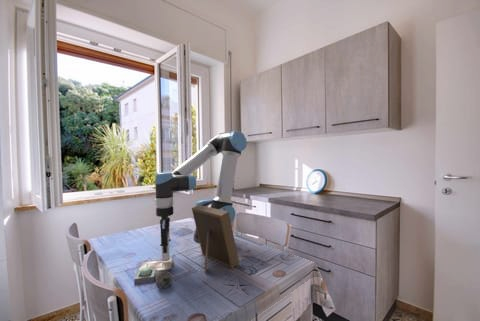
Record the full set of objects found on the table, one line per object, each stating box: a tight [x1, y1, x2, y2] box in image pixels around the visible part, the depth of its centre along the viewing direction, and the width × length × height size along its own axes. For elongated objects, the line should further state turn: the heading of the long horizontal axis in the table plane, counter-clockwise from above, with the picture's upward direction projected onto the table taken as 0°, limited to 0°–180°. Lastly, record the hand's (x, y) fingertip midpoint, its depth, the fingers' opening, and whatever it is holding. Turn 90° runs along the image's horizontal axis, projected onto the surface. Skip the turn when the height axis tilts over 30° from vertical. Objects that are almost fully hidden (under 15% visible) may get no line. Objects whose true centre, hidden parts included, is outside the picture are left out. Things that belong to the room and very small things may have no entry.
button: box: [140, 267, 151, 277], centre depth 90 cm, size 4×4×3 cm
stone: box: [154, 271, 173, 289], centre depth 86 cm, size 10×5×8 cm
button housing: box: [133, 268, 156, 285], centre depth 90 cm, size 7×7×2 cm
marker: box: [161, 231, 171, 261], centre depth 102 cm, size 3×3×12 cm
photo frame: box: [191, 205, 240, 274], centre depth 102 cm, size 15×22×25 cm
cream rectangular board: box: [136, 258, 174, 274], centre depth 99 cm, size 14×10×1 cm
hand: (165, 257), depth 102 cm, fingers closed on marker, 3 cm apart
